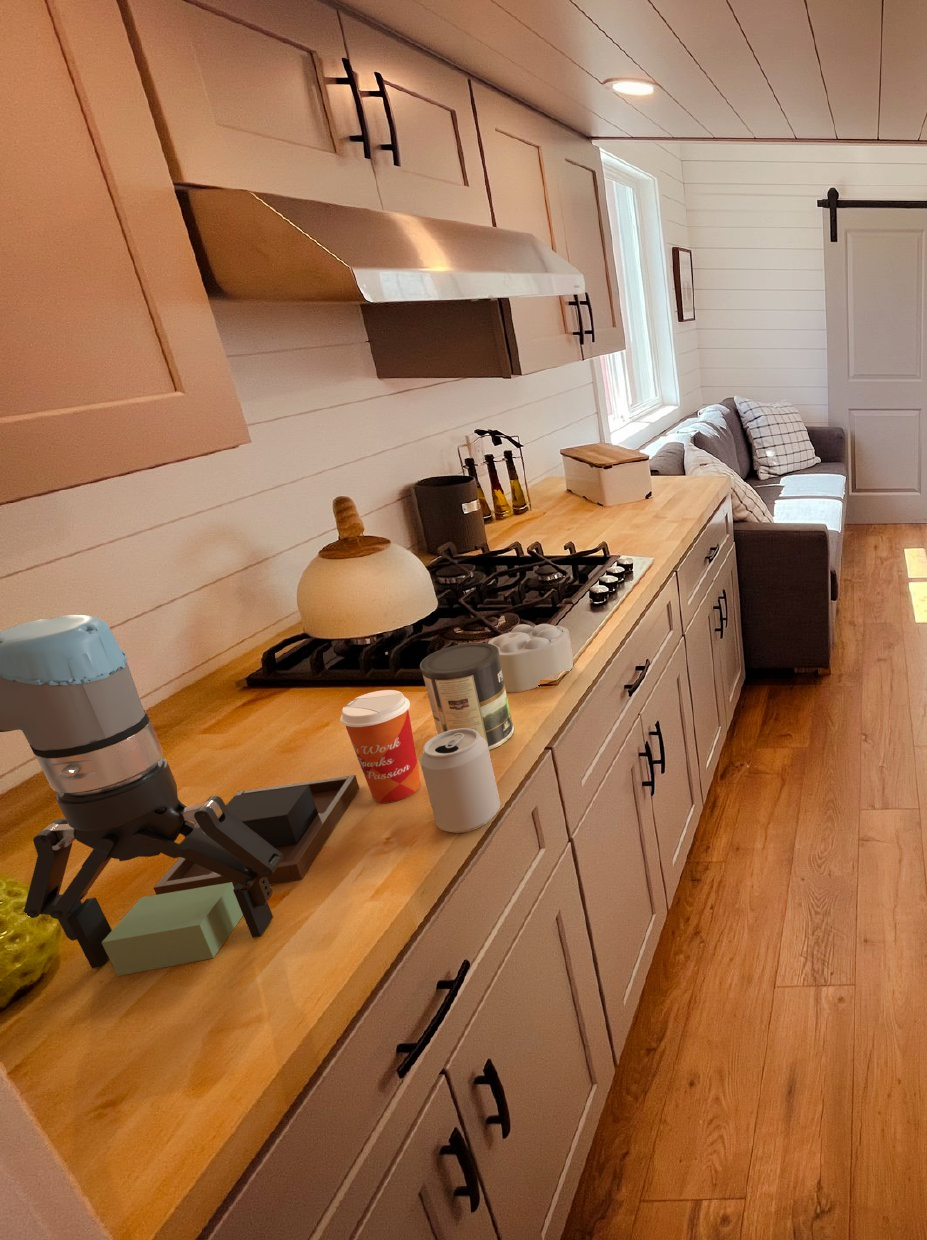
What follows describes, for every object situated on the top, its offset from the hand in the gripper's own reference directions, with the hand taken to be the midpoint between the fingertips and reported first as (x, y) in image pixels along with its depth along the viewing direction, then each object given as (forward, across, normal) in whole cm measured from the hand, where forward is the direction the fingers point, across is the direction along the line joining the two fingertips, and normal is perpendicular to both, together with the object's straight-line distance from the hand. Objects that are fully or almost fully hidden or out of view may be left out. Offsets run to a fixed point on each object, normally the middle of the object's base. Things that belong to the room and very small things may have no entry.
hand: (186, 942), depth 76 cm
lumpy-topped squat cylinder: (0, +26, +54) cm, 60 cm away
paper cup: (0, +13, +23) cm, 26 cm away
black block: (-1, +1, +16) cm, 16 cm away
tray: (0, +1, +16) cm, 16 cm away
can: (0, +24, +14) cm, 28 cm away
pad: (0, 0, 0) cm, 0 cm away
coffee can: (0, +20, +34) cm, 40 cm away
